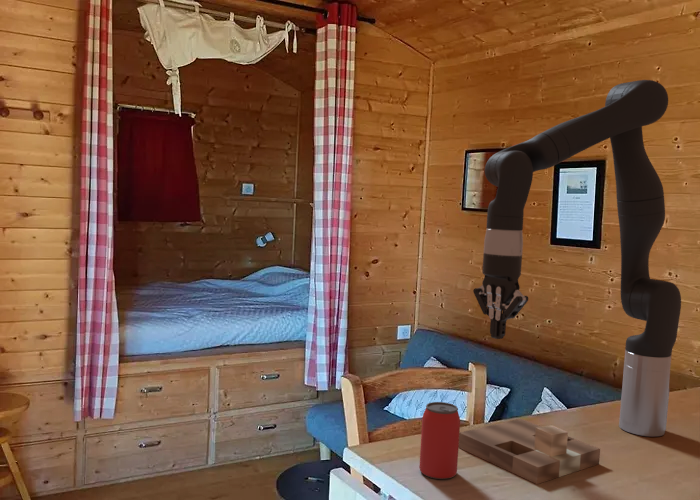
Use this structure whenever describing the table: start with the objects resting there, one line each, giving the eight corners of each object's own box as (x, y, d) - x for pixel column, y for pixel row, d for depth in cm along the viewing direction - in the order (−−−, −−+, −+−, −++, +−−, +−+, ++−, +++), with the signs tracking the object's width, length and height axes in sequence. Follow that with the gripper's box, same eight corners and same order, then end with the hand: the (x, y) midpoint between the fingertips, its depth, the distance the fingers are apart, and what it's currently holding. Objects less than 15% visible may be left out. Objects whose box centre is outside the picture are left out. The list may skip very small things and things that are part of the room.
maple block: (550, 445, 125) (551, 425, 125) (566, 453, 122) (568, 432, 121) (534, 448, 123) (535, 427, 123) (550, 456, 120) (552, 434, 119)
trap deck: (519, 432, 141) (520, 418, 140) (599, 464, 125) (600, 448, 125) (458, 447, 130) (459, 432, 130) (536, 484, 115) (538, 467, 115)
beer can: (433, 483, 113) (437, 414, 112) (412, 468, 119) (415, 402, 118) (464, 477, 116) (468, 410, 115) (442, 463, 122) (446, 399, 121)
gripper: (542, 255, 129) (535, 343, 131) (490, 249, 140) (485, 330, 141) (516, 255, 125) (510, 346, 126) (465, 249, 136) (460, 333, 137)
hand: (497, 338), depth 134 cm, fingers closed
